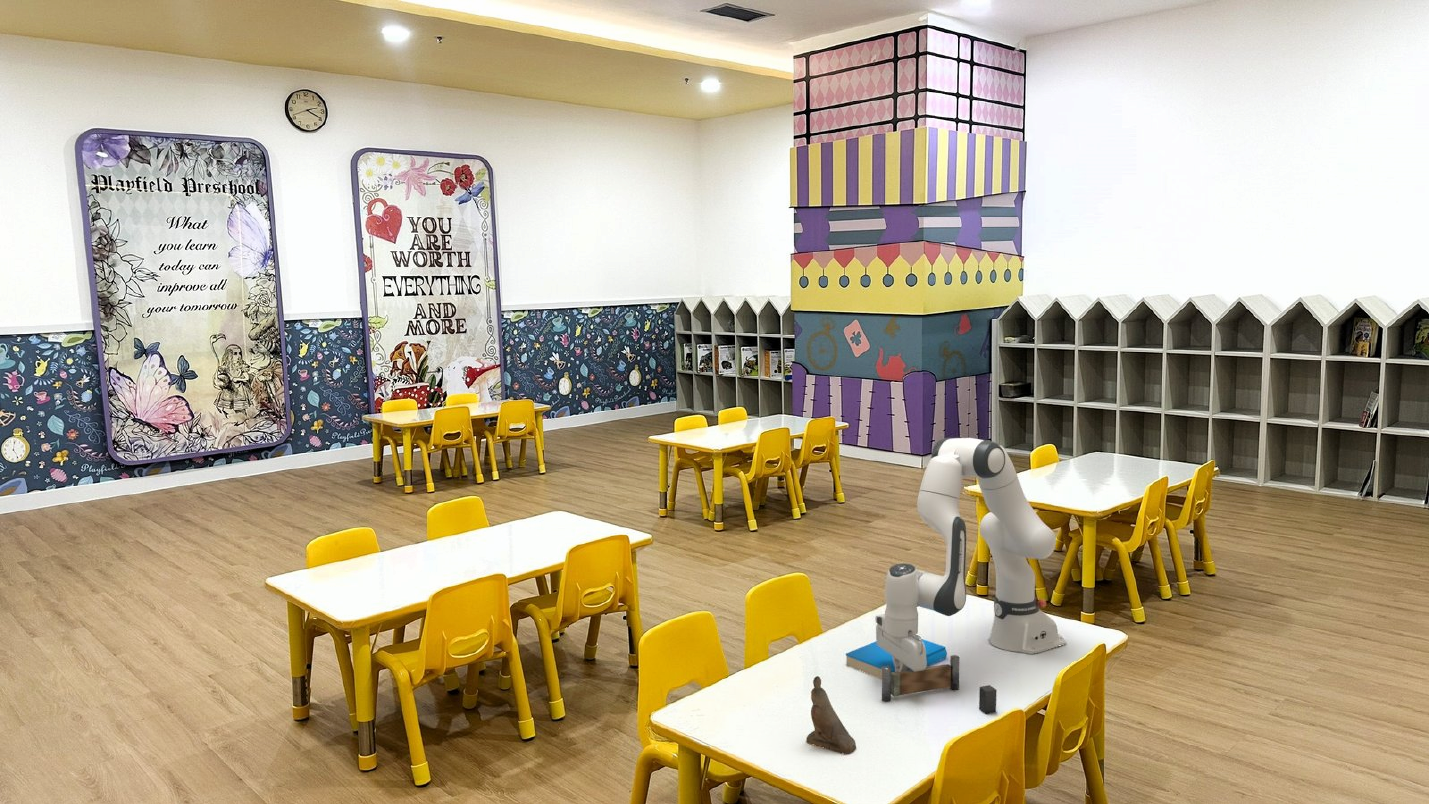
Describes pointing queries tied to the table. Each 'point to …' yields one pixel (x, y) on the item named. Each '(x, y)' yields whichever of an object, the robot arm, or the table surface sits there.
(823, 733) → the worn brown figurine
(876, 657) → the book
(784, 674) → the table surface
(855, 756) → the table surface
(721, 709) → the table surface
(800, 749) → the table surface
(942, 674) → the gate
